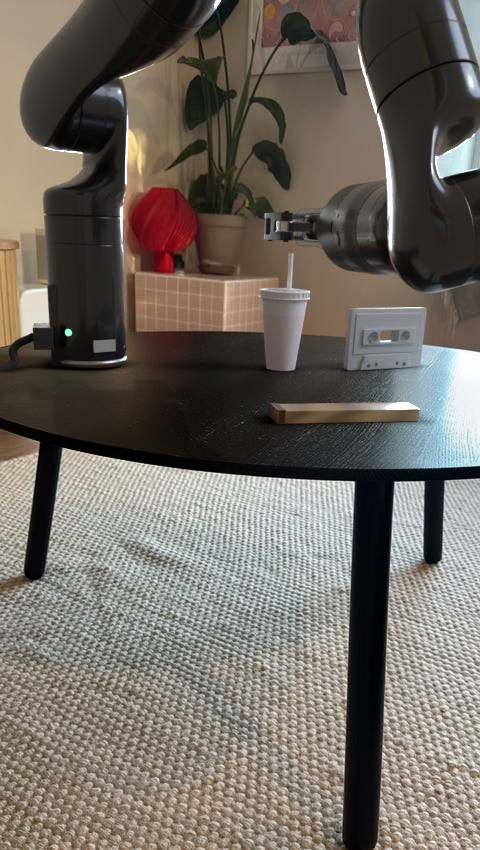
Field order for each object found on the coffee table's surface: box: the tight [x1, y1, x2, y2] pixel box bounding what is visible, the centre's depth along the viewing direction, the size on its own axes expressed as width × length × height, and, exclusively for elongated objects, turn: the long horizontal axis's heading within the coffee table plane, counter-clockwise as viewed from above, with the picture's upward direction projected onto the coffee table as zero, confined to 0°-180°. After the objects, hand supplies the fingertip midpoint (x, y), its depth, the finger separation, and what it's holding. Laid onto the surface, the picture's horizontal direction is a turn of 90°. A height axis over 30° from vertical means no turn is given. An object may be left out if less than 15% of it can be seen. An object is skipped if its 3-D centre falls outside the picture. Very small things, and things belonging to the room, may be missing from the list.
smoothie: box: [258, 252, 311, 372], centre depth 94 cm, size 6×6×14 cm
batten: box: [269, 401, 421, 425], centre depth 72 cm, size 14×3×1 cm, turn 102°
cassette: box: [343, 306, 428, 371], centre depth 98 cm, size 12×2×8 cm, turn 116°
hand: (318, 228), depth 80 cm, fingers open, 8 cm apart
